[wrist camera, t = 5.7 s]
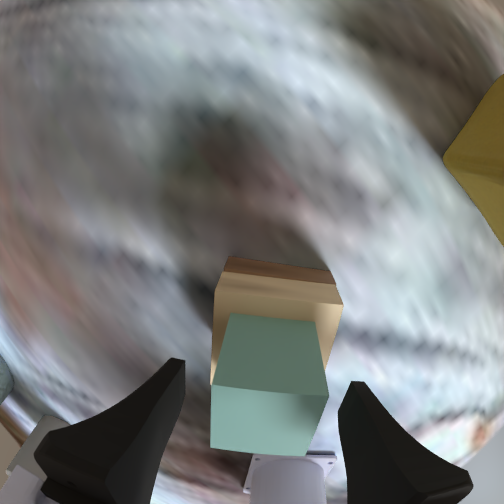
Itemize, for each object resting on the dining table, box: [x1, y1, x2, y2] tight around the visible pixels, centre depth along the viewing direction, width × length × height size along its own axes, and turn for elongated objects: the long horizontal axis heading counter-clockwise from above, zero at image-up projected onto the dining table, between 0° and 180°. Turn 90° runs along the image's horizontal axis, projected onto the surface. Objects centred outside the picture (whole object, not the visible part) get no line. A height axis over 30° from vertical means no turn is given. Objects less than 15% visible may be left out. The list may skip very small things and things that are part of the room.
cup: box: [6, 415, 70, 482], centre depth 22 cm, size 8×8×10 cm
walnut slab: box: [224, 256, 336, 285], centre depth 18 cm, size 6×6×2 cm
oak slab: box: [210, 271, 344, 385], centre depth 16 cm, size 6×6×2 cm
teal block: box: [210, 313, 329, 456], centre depth 12 cm, size 4×4×5 cm
